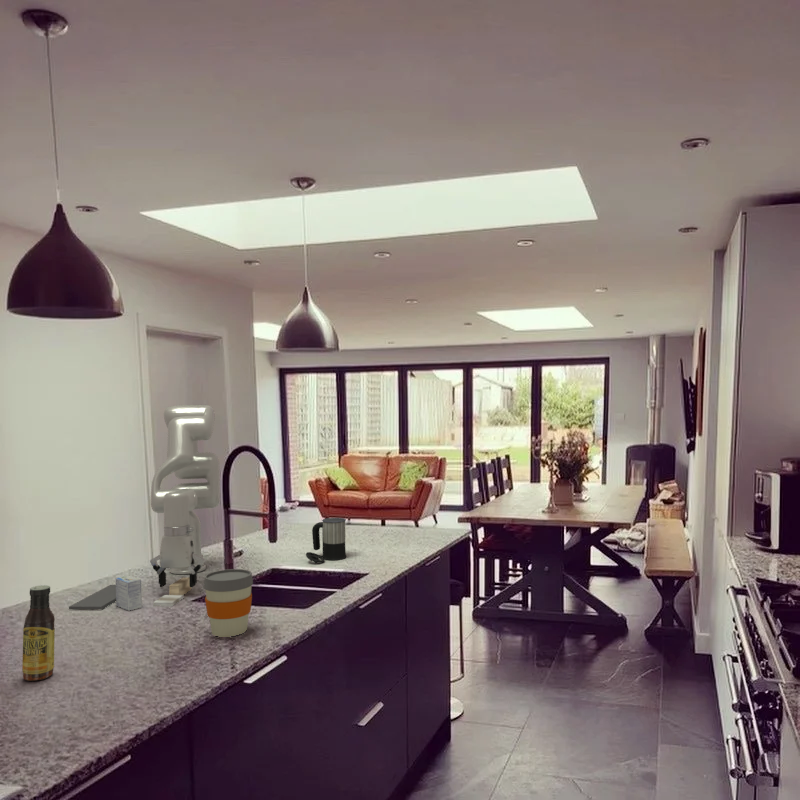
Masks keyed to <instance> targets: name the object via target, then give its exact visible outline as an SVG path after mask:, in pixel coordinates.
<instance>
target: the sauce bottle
mask: <svg viewBox="0 0 800 800" xmlns="http://www.w3.org/2000/svg"><path fill="white" fill-rule="evenodd" d="M50 593H51V586H50V585H46V584H44V585H41V584H40V585H35V586H32V587H30V588H29V596H30V605H29V610H28V612H27V614H26V616H25V618H24V624H23V629H22V660H21V661H22V665H21V666H22V679H23V680H25V681H28V682H35V681H42V680H45V679H47V678H49V677H51V676H52V675H53V673H54V668H55V639H56V637H55V635H56V634H55V629H56V628H55V615H54V613H53V611H52V610H51V608H50Z"/></svg>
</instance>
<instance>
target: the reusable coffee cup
mask: <svg viewBox="0 0 800 800" xmlns="http://www.w3.org/2000/svg"><path fill="white" fill-rule="evenodd" d="M203 579H204V582H203V589H204V591H205V597H204V602H205V608H206V616H207V617H208V618H209V623H210V630H211V635H212V634H213V635H215V636H219V637H230V636H235V635H239V634H242V633H244V632H245V631H246V630H247V631H248V623H249V614H250V613H251V610H252V602H253V601H252V600H253V593H252V585H254V581H253V575H252V571H250V570H249V569H244V568H243V569H242V568H231V569H230V568H229V569H228V568H227V569H221V570H216V571H215V570H214V571H212V572H209V573H206V575H204V577H203ZM244 634H245V633H244ZM213 635H212V636H213ZM242 635H243V634H242ZM215 636H214V637H215ZM219 637H218V638H219ZM230 638H231V637H230Z"/></svg>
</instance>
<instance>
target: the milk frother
mask: <svg viewBox="0 0 800 800" xmlns="http://www.w3.org/2000/svg"><path fill="white" fill-rule="evenodd" d="M346 520H347V518H342V517H328V518H323V519H321V521H320V522H317V523H315V524H314V525H313V526H312V529H311V532H312V533H311V535H312V536H311V537H312V546H313V550H314V551H318V550H320V549H321V542H320V541H321V539H320V538H321V537H320V528H322V529H321V530H322V555H320V554H317V553H315V552H311V551H309V552H306V553H305V557H306V558H307V559H308V560H309V561H311V562H313V563H314V564H317V563H318V564H319V563H321V564H322V563H325V560H326V559H327V561H340V559H341V560H344V559H346V558H347V551H346V550H347V549H346Z"/></svg>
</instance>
